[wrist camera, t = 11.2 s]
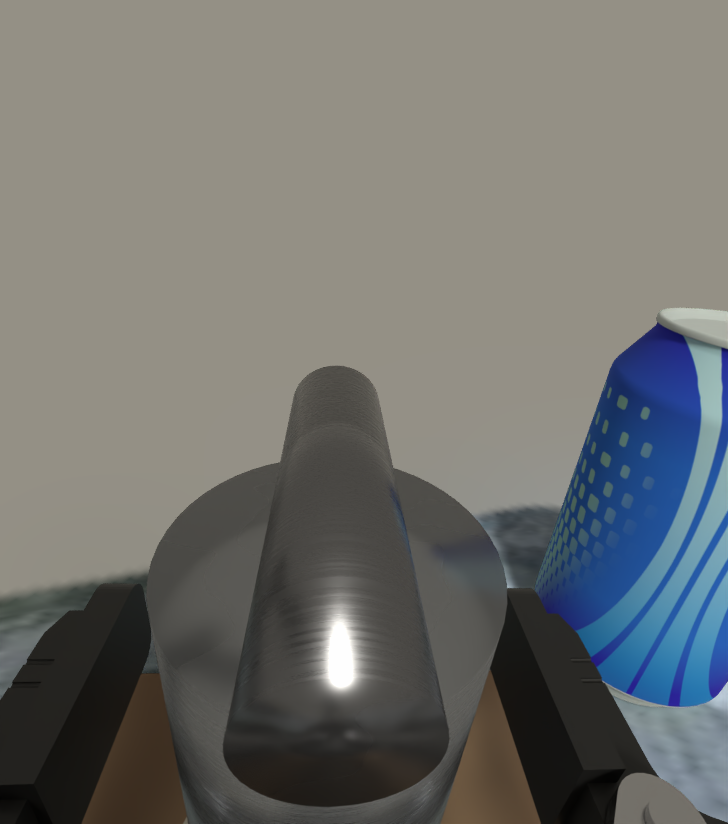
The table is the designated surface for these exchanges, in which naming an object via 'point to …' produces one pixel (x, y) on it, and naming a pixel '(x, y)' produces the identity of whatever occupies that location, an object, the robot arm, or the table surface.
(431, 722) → the grey cylinder
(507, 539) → the table surface
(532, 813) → the block
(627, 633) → the beer can
